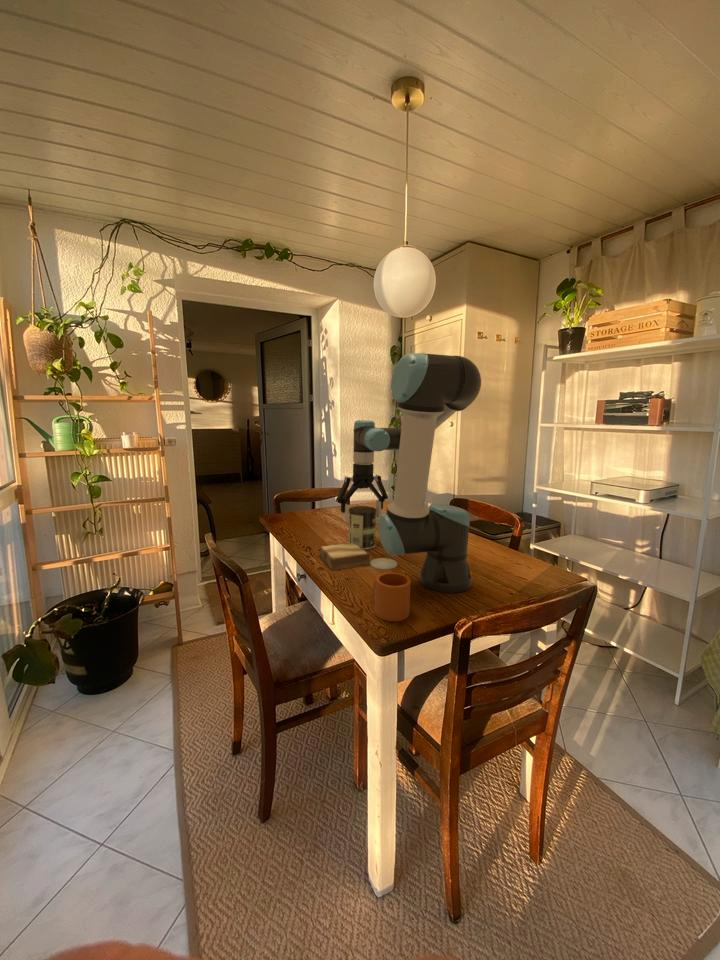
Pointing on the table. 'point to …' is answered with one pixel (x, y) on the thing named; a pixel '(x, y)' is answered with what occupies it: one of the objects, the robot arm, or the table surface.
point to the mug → (392, 596)
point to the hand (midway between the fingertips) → (361, 519)
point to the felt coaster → (383, 563)
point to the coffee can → (362, 526)
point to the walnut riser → (344, 556)
